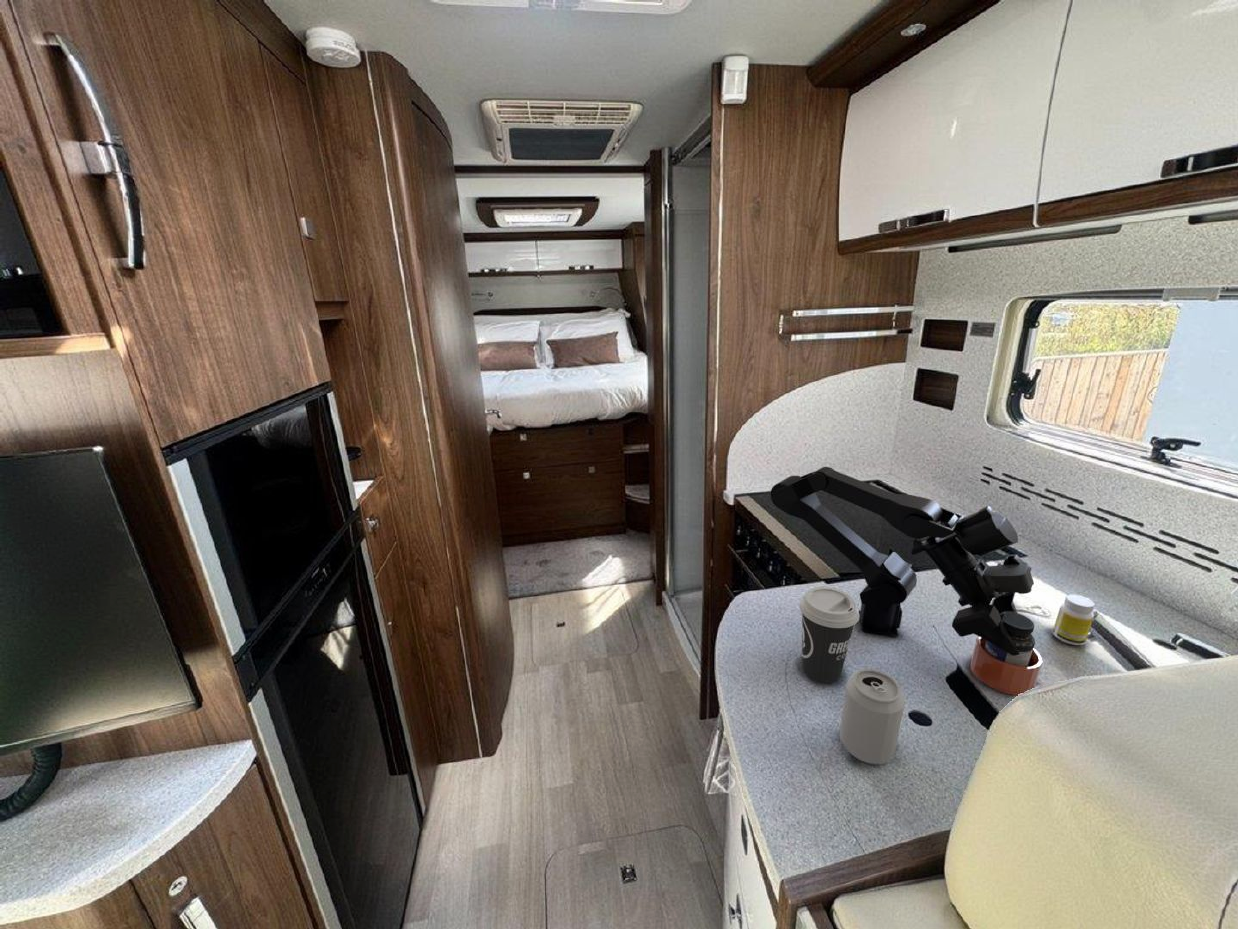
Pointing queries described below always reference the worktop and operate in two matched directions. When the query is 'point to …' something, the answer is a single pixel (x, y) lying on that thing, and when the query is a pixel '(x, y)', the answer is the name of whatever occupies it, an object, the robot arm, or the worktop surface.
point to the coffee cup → (826, 632)
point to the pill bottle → (1015, 640)
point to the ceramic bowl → (1004, 671)
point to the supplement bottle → (1074, 620)
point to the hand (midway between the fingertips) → (1020, 645)
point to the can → (871, 716)
